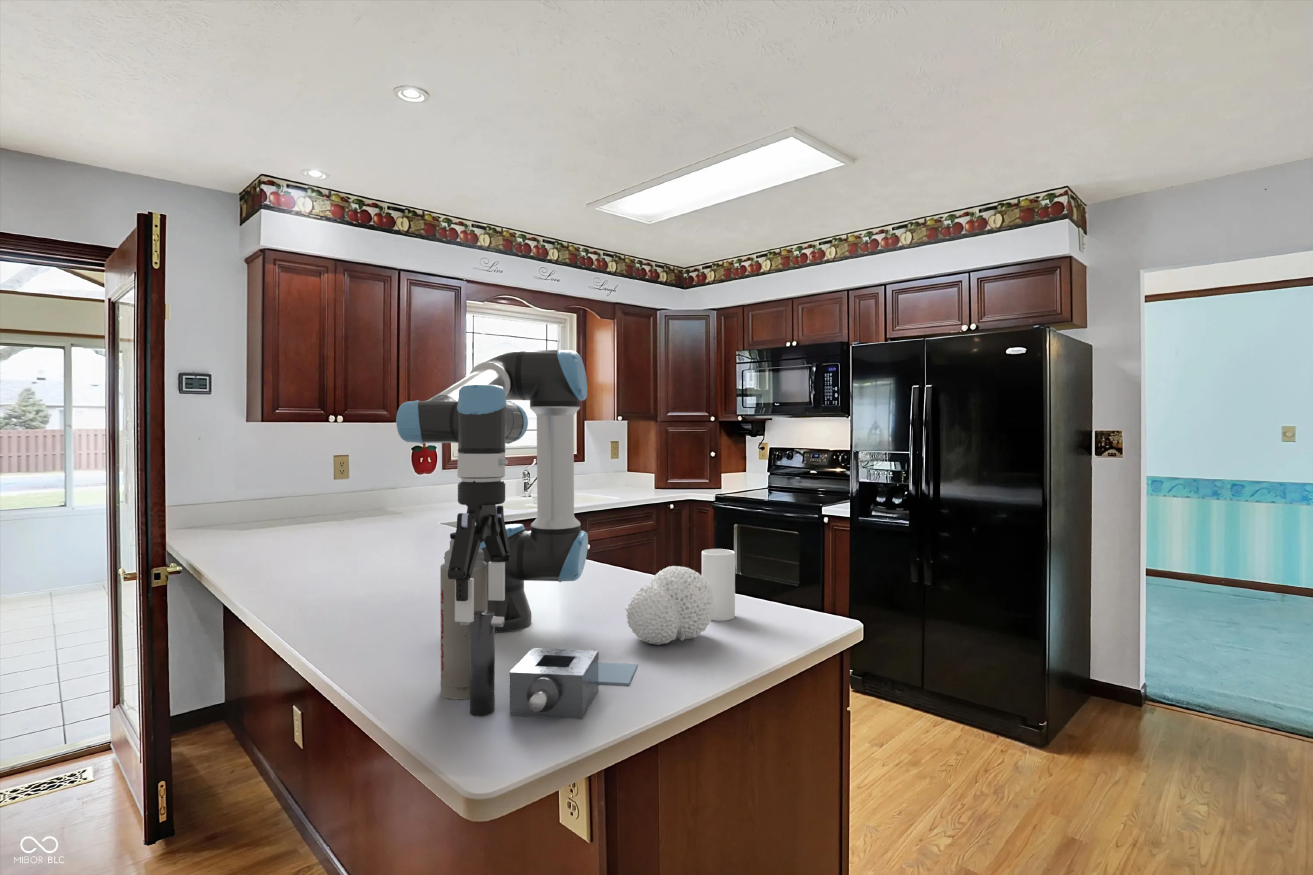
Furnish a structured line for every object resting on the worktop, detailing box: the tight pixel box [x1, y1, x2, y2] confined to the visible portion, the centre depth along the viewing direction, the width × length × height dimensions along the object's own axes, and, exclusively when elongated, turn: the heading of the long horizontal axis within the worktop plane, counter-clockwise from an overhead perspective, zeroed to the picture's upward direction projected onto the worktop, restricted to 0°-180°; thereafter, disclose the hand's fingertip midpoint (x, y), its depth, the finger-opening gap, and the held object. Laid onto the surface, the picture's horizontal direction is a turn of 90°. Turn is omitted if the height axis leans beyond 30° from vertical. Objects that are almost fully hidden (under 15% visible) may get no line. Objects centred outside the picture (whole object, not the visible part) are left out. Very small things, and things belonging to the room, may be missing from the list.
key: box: [460, 610, 504, 717], centre depth 109 cm, size 7×4×16 cm, turn 83°
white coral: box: [625, 565, 714, 646], centre depth 147 cm, size 20×18×16 cm
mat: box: [598, 661, 638, 686], centre depth 126 cm, size 10×10×1 cm
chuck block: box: [509, 647, 599, 720], centre depth 110 cm, size 12×17×7 cm
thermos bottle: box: [440, 531, 488, 700], centre depth 118 cm, size 8×8×28 cm
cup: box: [701, 548, 736, 622], centre depth 165 cm, size 8×8×16 cm
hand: (481, 610), depth 109 cm, fingers open, 13 cm apart
